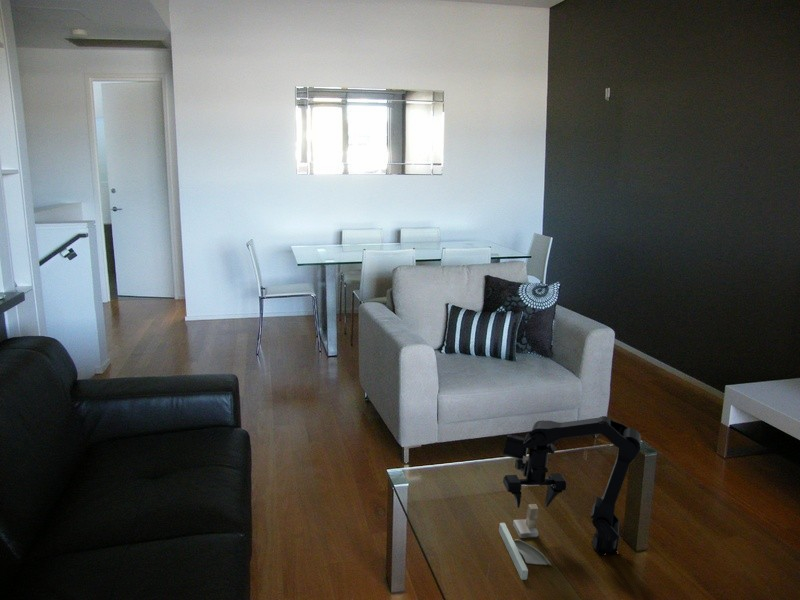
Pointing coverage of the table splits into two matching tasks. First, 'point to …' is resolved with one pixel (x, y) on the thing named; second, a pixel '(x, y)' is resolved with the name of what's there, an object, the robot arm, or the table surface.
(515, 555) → the stop rail
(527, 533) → the plate with square post
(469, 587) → the table surface
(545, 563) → the ceramic fragment
